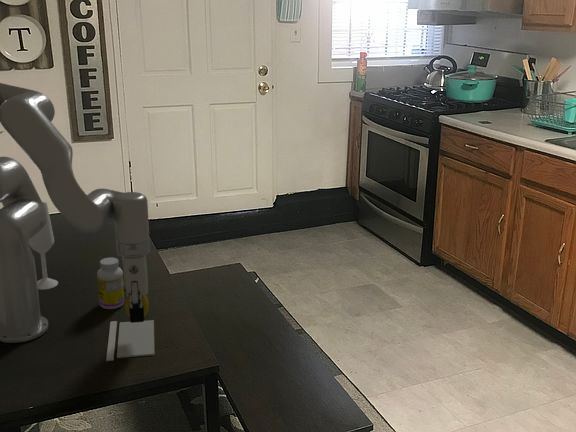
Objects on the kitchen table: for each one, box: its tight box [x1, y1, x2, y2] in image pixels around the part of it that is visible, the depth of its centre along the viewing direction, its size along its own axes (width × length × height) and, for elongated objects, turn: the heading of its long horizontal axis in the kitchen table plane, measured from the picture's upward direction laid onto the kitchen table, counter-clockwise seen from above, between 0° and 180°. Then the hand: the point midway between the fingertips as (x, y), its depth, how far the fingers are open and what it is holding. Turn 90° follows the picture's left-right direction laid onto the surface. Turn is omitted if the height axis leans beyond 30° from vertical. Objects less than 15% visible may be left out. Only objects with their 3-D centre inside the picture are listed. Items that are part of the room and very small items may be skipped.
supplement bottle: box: [96, 257, 125, 310], centre depth 166 cm, size 7×7×13 cm
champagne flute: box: [28, 201, 59, 290], centre depth 174 cm, size 7×7×24 cm
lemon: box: [124, 292, 150, 318], centre depth 149 cm, size 6×6×8 cm
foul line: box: [105, 320, 118, 362], centre depth 151 cm, size 2×18×1 cm, turn 12°
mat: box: [116, 319, 156, 359], centre depth 152 cm, size 8×16×1 cm, turn 12°
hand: (137, 314), depth 150 cm, fingers closed on lemon, 5 cm apart
